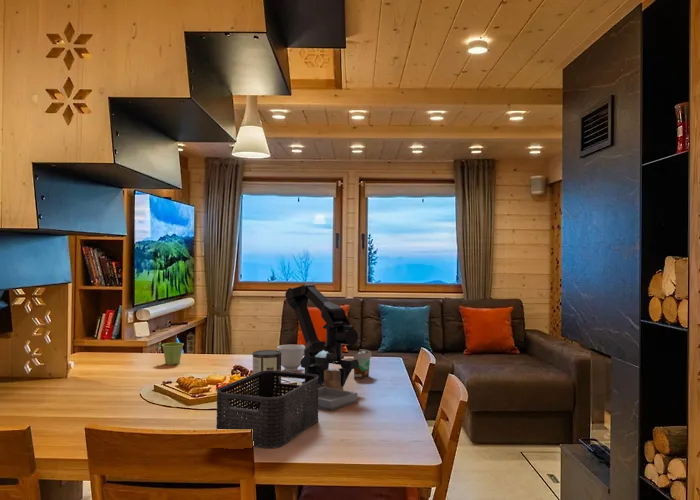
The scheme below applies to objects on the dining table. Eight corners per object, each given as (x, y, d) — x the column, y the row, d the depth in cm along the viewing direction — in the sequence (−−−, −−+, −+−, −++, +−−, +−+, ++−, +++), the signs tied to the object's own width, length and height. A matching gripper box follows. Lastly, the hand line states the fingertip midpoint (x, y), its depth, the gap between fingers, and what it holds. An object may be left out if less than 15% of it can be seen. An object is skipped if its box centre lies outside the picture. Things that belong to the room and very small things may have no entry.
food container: (368, 380, 218) (369, 354, 218) (353, 379, 219) (353, 353, 219) (373, 373, 230) (373, 349, 230) (359, 373, 231) (359, 348, 231)
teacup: (314, 368, 239) (315, 345, 240) (293, 374, 227) (293, 349, 227) (292, 365, 246) (293, 342, 246) (270, 370, 233) (271, 347, 234)
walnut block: (323, 389, 202) (324, 370, 202) (332, 387, 206) (332, 368, 206) (334, 391, 199) (334, 372, 199) (343, 389, 203) (343, 369, 203)
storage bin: (277, 451, 138) (277, 397, 138) (210, 441, 144) (211, 389, 144) (322, 420, 164) (322, 374, 165) (264, 413, 171) (264, 369, 171)
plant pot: (179, 366, 242) (180, 346, 242) (158, 365, 242) (158, 345, 242) (186, 362, 251) (186, 342, 251) (165, 361, 251) (165, 342, 252)
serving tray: (297, 403, 182) (297, 394, 182) (324, 395, 193) (324, 386, 193) (331, 410, 173) (331, 401, 173) (357, 401, 185) (357, 392, 185)
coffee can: (268, 387, 204) (269, 348, 204) (287, 392, 197) (287, 352, 197) (245, 392, 197) (246, 352, 197) (264, 397, 190) (264, 355, 190)
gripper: (300, 342, 201) (299, 385, 201) (341, 347, 190) (340, 393, 190) (319, 338, 210) (319, 380, 210) (359, 343, 199) (359, 387, 199)
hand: (333, 385), depth 202 cm, fingers open, 8 cm apart
